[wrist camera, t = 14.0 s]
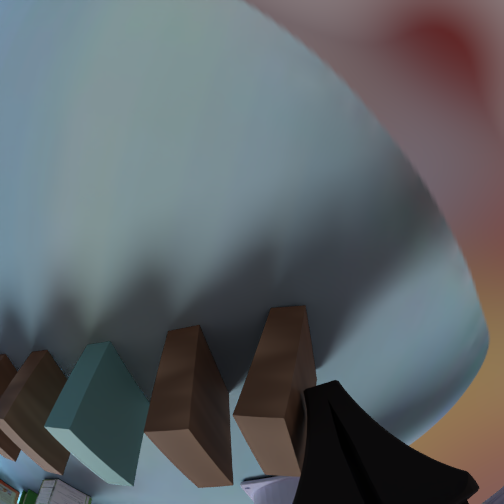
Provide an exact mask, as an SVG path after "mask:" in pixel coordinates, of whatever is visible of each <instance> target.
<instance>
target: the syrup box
mask: <svg viewBox="0 0 504 504" xmlns="http://www.w3.org/2000/svg"><path fill="white" fill-rule="evenodd" d="M91 501H92V498H91V497H89V496H87V495H86V494H84V493H82V492H80V491H78V490H76V489H75V488H73V487H71V486H69V485H67V484H66V483H64V482H62V481H61V480H59V479H44V480H43V482H42V484H41V487H40V490H39V493H38V496H37V499H36V502H35V504H91Z"/></svg>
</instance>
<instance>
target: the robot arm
mask: <svg viewBox="0 0 504 504" xmlns="http://www.w3.org/2000/svg"><path fill="white" fill-rule="evenodd" d="M303 392H304V397H305V403H306V408H307V437H306V446H305V454H304V461H303V466H302V471H301V475H300V477H293V476H275V477H270V478H264V479H258V480H251V481H244V482H241V483H240V485H241V488H242V489H243V490H244V491H245V492H246V493H247V495H248V496H249V497H250V498H251V499H252V500H253V501H254V504H469V503H468V501H467V499H469V498H470V497H471V496H472V495H473V494H475V493H476V492H477V491H478V489H479V486H478V484H477V483H476V481H475V480H474V479H473V477H472V476H471V475H470V474H469V473H468V472H467V471H464V470H460V469H457V468H454V467H451V466H448V465H446V464H443V463H441V462H439V461H436V460H434V459H432V458H430V457H428V456H426V455H424V454H422V453H420V452H418V451H416V450H414V449H413V448H411V447H410V446H408V445H406V444H405V443H403V442H402V441H400V440H399V439H397V438H396V437H394V436H393V435H392V434H390V433H389V432H388V431H387V430H385V429H384V428H383V427H382V426H380V425H379V424H378V423H377V422H376V421H375V420H373V419H372V418H371V417H370V416H369V415H368V414H367V413H366V412H365V411H364V410H363V409H362V408H361V407H360V406H359V405H358V404H357V403H356V402H355V401H354V400H353V399H352V398H351V396H350V395H349V394H348V393H347V392H346V391H345V389H344V388H343V387H342V385H341V384H340V383H339V381H337V380H334V381H331V382H328V383H324V384H321V385H317V386H314V387H311V388H307V389H305V390H304V391H303ZM482 504H504V487H502V488H501V489H500V490H499V491H498V492H496V493H495V494H494V495H493V496H491V497H490V498H489V499H487V500H486V501H485V502H483V503H482Z"/></svg>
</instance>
